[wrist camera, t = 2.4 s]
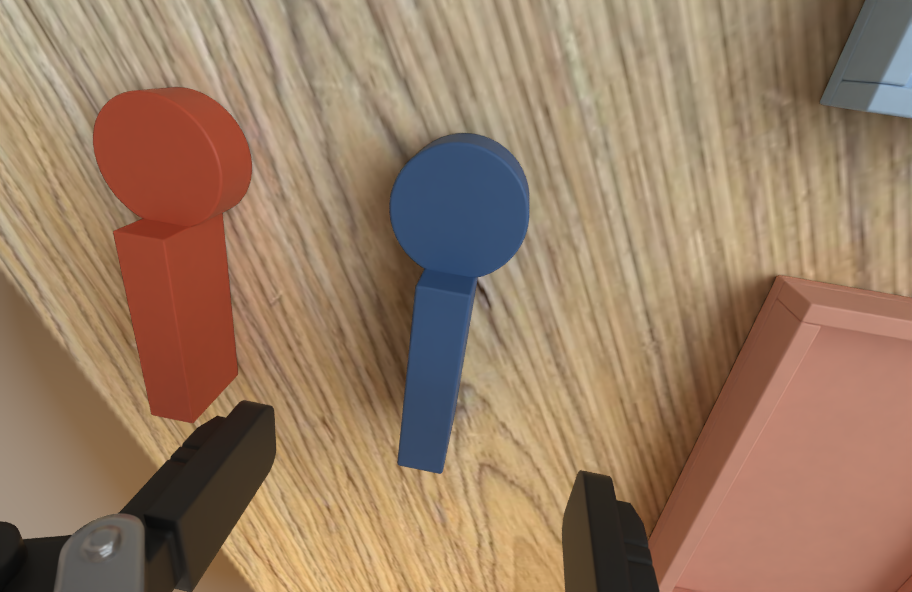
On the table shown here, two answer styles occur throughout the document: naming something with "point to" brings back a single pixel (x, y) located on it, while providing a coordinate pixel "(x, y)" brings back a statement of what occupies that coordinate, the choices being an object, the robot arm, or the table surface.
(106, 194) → the table surface
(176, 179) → the spoon red
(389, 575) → the table surface
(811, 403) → the tray pink
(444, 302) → the spoon blue
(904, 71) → the tray blue
